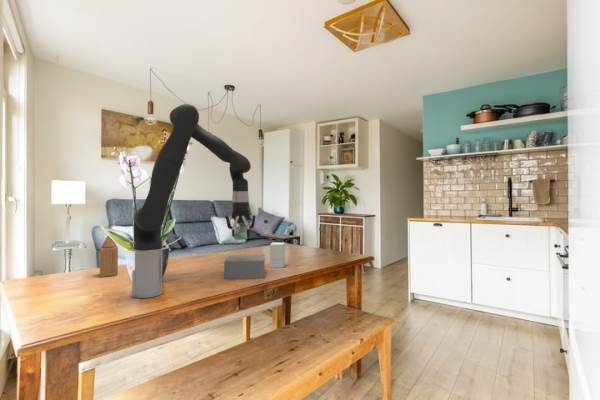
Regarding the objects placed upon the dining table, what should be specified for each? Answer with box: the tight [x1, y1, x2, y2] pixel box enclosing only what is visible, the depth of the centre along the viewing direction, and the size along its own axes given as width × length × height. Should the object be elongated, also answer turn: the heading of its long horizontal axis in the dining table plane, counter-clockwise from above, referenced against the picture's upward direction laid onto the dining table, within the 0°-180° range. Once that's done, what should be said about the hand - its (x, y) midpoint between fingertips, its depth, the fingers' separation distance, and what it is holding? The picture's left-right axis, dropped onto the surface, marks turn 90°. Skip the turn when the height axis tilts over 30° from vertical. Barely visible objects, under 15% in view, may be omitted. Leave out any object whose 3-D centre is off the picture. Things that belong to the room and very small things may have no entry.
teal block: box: [233, 225, 248, 241], centre depth 138 cm, size 6×6×6 cm
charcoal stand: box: [223, 253, 266, 280], centre depth 143 cm, size 18×16×8 cm
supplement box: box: [269, 241, 286, 269], centre depth 161 cm, size 7×7×13 cm
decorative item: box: [99, 235, 119, 278], centre depth 140 cm, size 7×7×20 cm
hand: (241, 237), depth 138 cm, fingers closed on teal block, 5 cm apart
